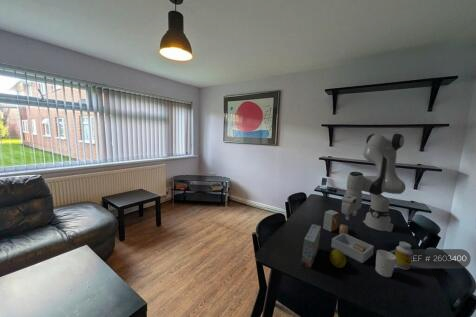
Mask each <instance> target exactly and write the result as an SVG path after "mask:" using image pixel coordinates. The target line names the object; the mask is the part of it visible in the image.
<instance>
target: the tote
mask: <svg viewBox="0 0 476 317" xmlns="http://www.w3.org/2000/svg"><path fill="white" fill-rule="evenodd" d="M355 243H360V244H362V245H364V246H366V251H364V252H363V253H362V252H360V251H358V250H356V249H354V248H353V245H354V244H355ZM330 248H331V249H333V250H335V249H336V250H340V251H341V252H343V254H344V255H345V256H347V257H349V258H351V259H353V260H355V261H357V262H358V263H360V264H363V263H365V262H366V261H367V260H369V259H370V258H371V257H373V255H374V248H375V245H373V244H370V243H368V242H366V241H363V240H360V239H358V238H356V237H354V236H351V235H350V234H348V233H347V234H345V233H342V234H340V235H339V234H338V235H336V236H334V237H333V238H331V244H330Z"/></svg>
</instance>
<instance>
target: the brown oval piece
mask: <svg viewBox="0 0 476 317" xmlns="http://www.w3.org/2000/svg"><path fill="white" fill-rule="evenodd" d="M348 230H349V226H348V225H346V224H343V223H342V224H340V225H339V231H338V235H340V234H342V233H345V234H347V235H348V233H349V231H348Z"/></svg>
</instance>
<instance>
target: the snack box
mask: <svg viewBox="0 0 476 317" xmlns="http://www.w3.org/2000/svg"><path fill="white" fill-rule="evenodd" d="M321 230H322V226H321V225H317V224H314V223H313V224H311V226H310V228H309V230H308V232H307V234H306V235H305V237H304V240H303V246H302V247H303V248H302V256H301V266H304V267H306V268H308V269H311V268H312V267H313V264H314V261H315V258H316V256H317V253H318V251H319V245H320V237H321V236H320V235H321Z"/></svg>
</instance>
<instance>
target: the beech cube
mask: <svg viewBox="0 0 476 317" xmlns="http://www.w3.org/2000/svg"><path fill="white" fill-rule="evenodd" d="M353 248H354V249H356V250H358V251H360V252H362V253H363V252H364V251H366V246H364V245H362V244H360V243H355V244H354V245H353Z"/></svg>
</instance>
